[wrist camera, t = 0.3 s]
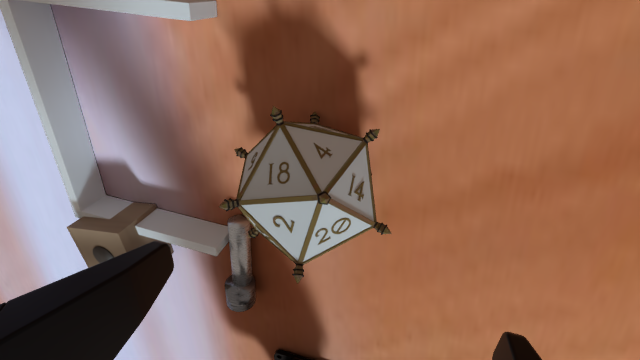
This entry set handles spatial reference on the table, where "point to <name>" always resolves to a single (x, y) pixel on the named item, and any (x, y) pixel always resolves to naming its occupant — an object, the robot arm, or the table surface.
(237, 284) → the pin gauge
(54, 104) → the tray
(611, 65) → the table surface
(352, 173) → the game die
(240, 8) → the table surface
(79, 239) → the drilled block
